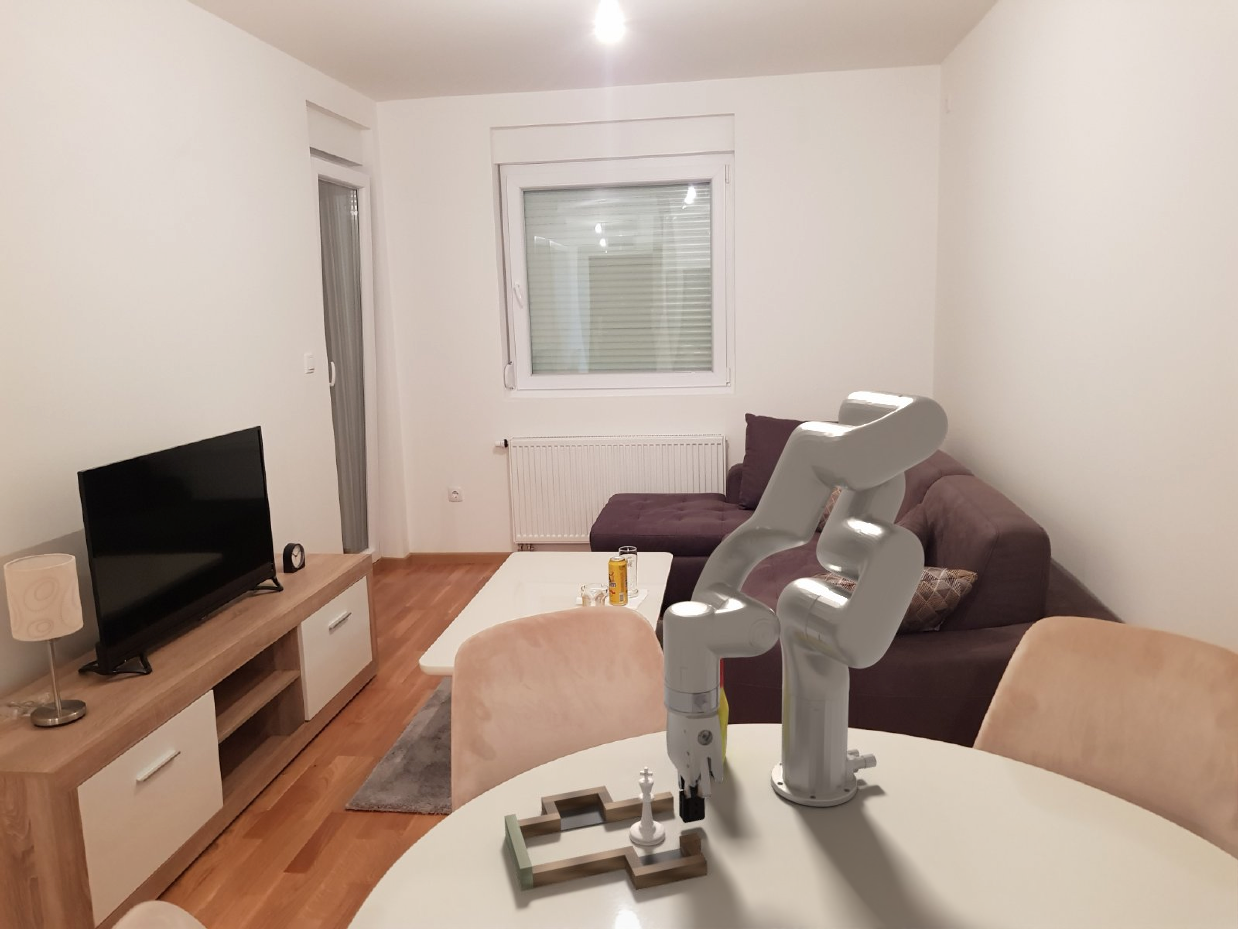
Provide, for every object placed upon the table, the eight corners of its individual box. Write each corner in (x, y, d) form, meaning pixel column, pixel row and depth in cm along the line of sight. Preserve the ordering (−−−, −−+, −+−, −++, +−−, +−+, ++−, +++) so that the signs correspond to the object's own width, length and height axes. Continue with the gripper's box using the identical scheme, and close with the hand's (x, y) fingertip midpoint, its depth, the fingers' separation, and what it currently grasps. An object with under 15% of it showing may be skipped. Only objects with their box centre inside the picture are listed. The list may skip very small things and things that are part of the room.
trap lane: (660, 788, 132) (659, 769, 132) (714, 873, 112) (714, 852, 112) (500, 817, 126) (499, 798, 125) (528, 914, 106) (527, 891, 105)
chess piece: (662, 847, 118) (661, 779, 116) (626, 844, 119) (624, 775, 117) (667, 826, 123) (666, 760, 121) (632, 823, 124) (631, 757, 122)
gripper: (740, 714, 113) (739, 844, 116) (697, 669, 127) (697, 786, 130) (685, 723, 111) (686, 855, 114) (647, 676, 125) (649, 795, 128)
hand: (692, 818), depth 122 cm, fingers closed
